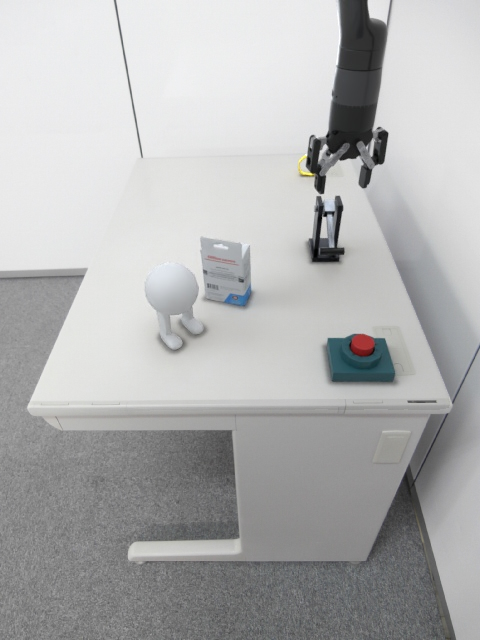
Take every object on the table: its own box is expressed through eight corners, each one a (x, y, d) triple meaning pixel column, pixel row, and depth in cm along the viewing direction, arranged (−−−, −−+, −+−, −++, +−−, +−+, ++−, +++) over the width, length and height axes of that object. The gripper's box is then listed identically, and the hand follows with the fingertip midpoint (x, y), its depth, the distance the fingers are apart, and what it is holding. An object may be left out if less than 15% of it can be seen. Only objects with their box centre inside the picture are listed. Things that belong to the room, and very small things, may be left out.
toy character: (176, 357, 78) (164, 291, 68) (144, 333, 82) (129, 268, 72) (213, 331, 82) (207, 265, 72) (181, 309, 87) (171, 245, 77)
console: (382, 346, 78) (387, 330, 76) (392, 381, 73) (398, 365, 70) (326, 346, 79) (328, 330, 76) (331, 381, 73) (334, 365, 70)
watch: (297, 176, 130) (298, 156, 125) (297, 172, 132) (299, 152, 127) (317, 177, 129) (319, 157, 125) (318, 173, 131) (320, 153, 127)
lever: (343, 257, 91) (345, 251, 89) (318, 257, 91) (320, 252, 89) (338, 205, 95) (341, 199, 92) (315, 205, 95) (317, 199, 92)
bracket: (339, 261, 98) (347, 209, 89) (312, 262, 98) (317, 210, 89) (333, 242, 103) (341, 191, 95) (308, 242, 104) (313, 191, 95)
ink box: (252, 291, 91) (251, 229, 81) (244, 307, 87) (242, 244, 77) (213, 284, 93) (208, 222, 83) (204, 299, 89) (198, 236, 79)
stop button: (370, 341, 75) (372, 334, 73) (374, 357, 72) (376, 349, 71) (349, 341, 75) (350, 333, 73) (352, 357, 72) (354, 349, 71)
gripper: (322, 108, 68) (313, 204, 79) (406, 99, 70) (385, 193, 81) (305, 94, 73) (298, 185, 84) (383, 86, 75) (367, 176, 86)
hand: (341, 189), depth 83 cm, fingers open, 8 cm apart
